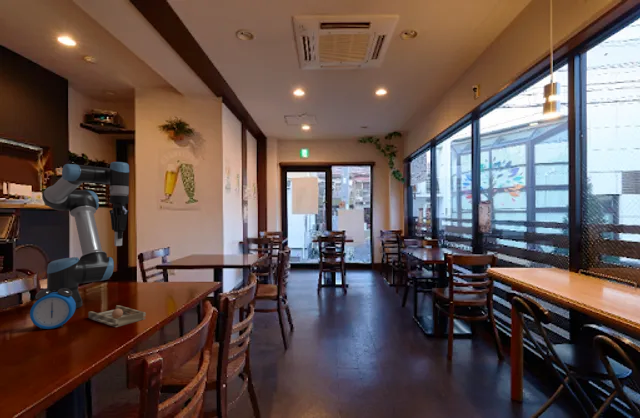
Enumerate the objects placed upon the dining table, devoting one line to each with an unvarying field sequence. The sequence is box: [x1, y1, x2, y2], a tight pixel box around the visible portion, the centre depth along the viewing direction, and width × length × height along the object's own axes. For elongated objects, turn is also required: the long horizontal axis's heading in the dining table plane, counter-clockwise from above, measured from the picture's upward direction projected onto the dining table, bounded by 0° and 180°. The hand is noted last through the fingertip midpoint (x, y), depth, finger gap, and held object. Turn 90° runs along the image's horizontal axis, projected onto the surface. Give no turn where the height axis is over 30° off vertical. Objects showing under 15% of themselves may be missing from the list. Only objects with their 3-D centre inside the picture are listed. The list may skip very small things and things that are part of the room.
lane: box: [88, 304, 147, 328], centre depth 137 cm, size 22×12×3 cm, turn 59°
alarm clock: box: [29, 288, 77, 331], centre depth 127 cm, size 13×6×15 cm, turn 115°
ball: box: [112, 308, 123, 318], centre depth 136 cm, size 4×4×4 cm
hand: (118, 245), depth 150 cm, fingers closed
